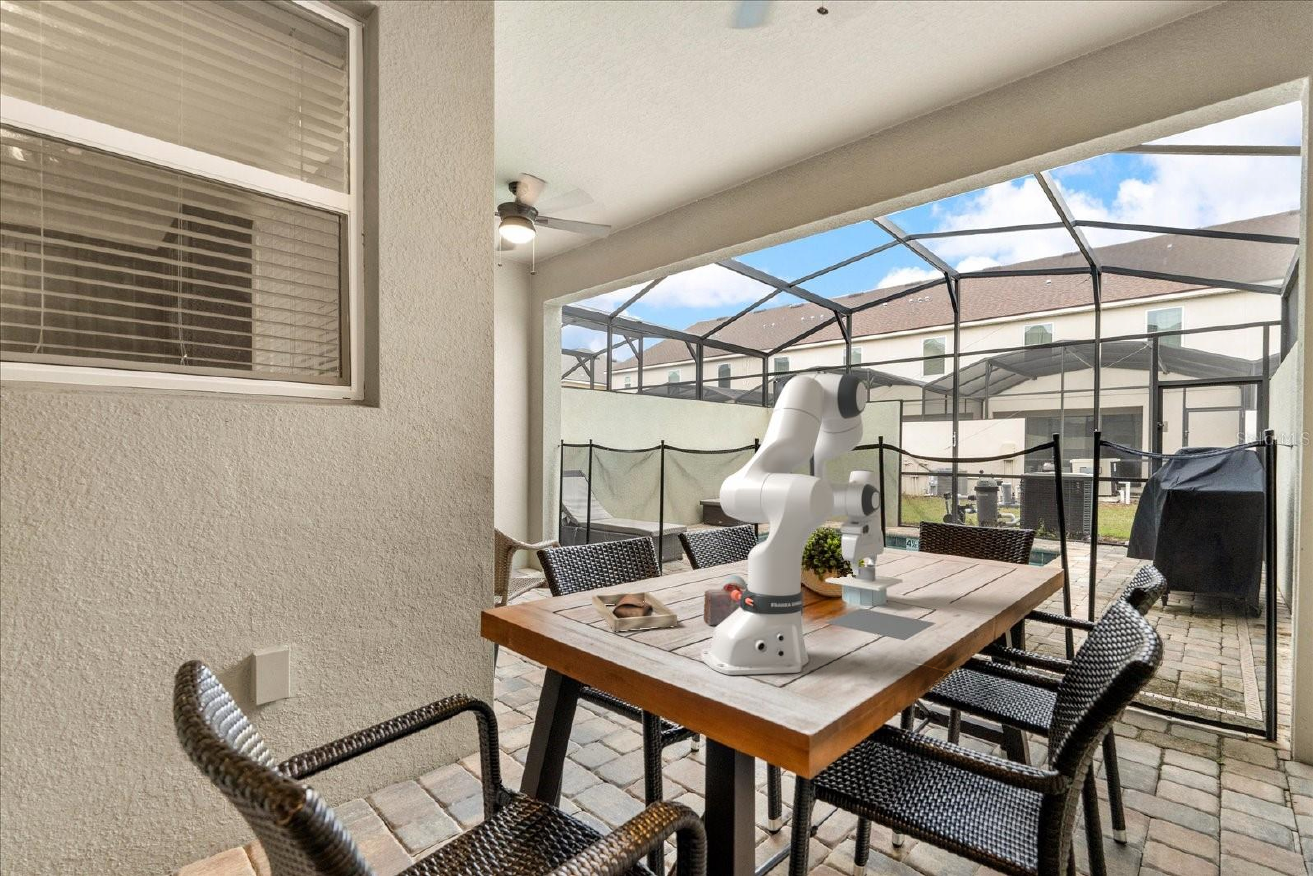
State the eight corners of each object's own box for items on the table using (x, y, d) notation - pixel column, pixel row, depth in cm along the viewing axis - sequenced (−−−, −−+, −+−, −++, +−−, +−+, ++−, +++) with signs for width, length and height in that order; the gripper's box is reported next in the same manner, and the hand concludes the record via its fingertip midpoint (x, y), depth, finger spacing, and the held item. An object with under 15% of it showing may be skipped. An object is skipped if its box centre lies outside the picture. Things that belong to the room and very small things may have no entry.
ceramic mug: (719, 607, 168) (720, 579, 168) (720, 600, 176) (721, 574, 176) (757, 609, 166) (758, 582, 167) (757, 602, 175) (757, 576, 175)
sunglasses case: (644, 623, 149) (630, 599, 149) (619, 636, 149) (606, 613, 150) (653, 605, 167) (641, 584, 167) (631, 617, 167) (619, 596, 168)
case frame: (614, 632, 143) (614, 619, 143) (592, 606, 168) (592, 595, 168) (677, 627, 148) (677, 615, 148) (646, 602, 173) (646, 591, 173)
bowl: (859, 609, 167) (859, 587, 167) (834, 599, 178) (834, 579, 179) (895, 606, 171) (895, 585, 171) (868, 596, 182) (868, 576, 182)
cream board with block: (879, 590, 163) (878, 575, 163) (825, 581, 174) (825, 567, 175) (902, 582, 175) (902, 567, 175) (850, 574, 186) (850, 560, 186)
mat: (904, 642, 137) (904, 640, 137) (824, 625, 151) (824, 622, 151) (935, 625, 151) (935, 623, 151) (860, 610, 165) (860, 608, 165)
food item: (752, 618, 157) (752, 580, 158) (762, 626, 150) (762, 587, 150) (702, 619, 156) (702, 581, 156) (708, 628, 148) (709, 588, 148)
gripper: (869, 521, 185) (869, 566, 184) (837, 527, 170) (837, 575, 170) (889, 523, 180) (889, 569, 180) (858, 529, 166) (858, 579, 165)
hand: (863, 572), depth 175 cm, fingers open, 8 cm apart
